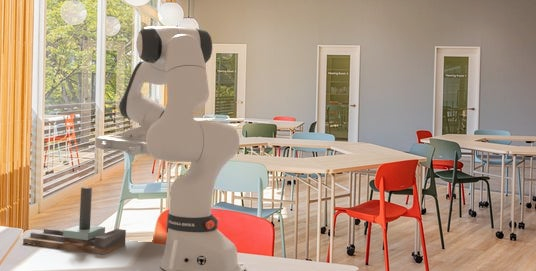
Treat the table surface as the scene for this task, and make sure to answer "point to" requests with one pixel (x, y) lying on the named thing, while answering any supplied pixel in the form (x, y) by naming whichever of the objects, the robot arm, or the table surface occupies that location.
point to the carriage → (84, 220)
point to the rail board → (78, 241)
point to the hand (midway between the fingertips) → (116, 148)
